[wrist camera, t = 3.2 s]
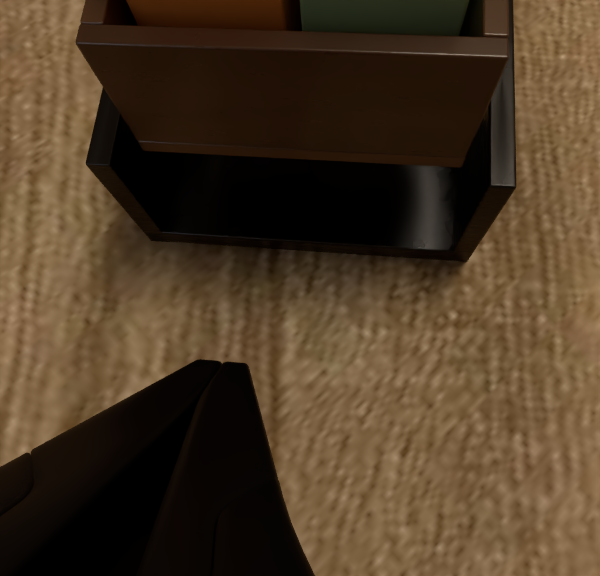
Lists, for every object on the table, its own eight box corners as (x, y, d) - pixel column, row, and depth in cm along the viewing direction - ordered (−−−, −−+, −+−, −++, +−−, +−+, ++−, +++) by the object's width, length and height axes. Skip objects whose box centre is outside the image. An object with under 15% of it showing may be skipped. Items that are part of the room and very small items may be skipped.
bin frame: (467, 262, 22) (517, 188, 16) (150, 241, 23) (84, 163, 17) (469, 100, 24) (513, -20, 18) (178, 88, 25) (128, -29, 19)
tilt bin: (462, 168, 17) (509, 58, 12) (143, 151, 18) (73, 42, 13) (464, -14, 19) (507, -169, 14) (176, -21, 20) (127, -169, 15)
